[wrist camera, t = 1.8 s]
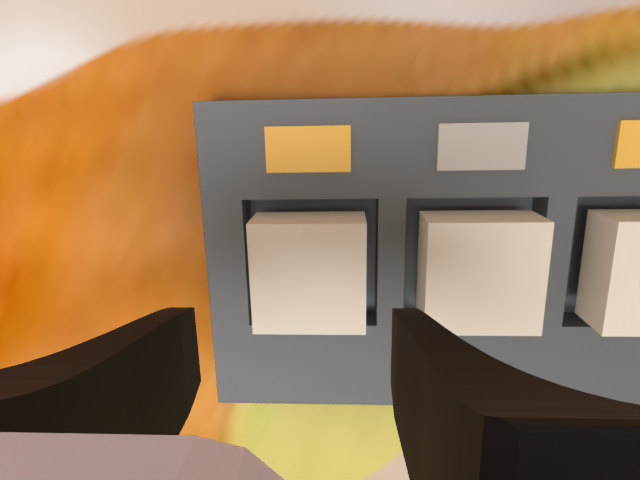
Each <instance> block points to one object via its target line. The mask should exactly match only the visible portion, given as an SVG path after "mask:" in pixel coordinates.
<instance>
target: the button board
mask: <svg viewBox="0 0 640 480" xmlns="http://www.w3.org/2000/svg"><path fill="white" fill-rule="evenodd" d="M193 109H194V121H195V132H196V144H197V156H198V168H199V180H200V191H201V203H202V215H203V227H204V239H205V250H206V262H207V274H208V286H209V298H210V309H211V321H212V333H213V345H214V357H215V368H216V380H217V392H218V403H289V404H361V405H393V401H392V391H391V342H392V308H416V287H417V260H418V232H419V211H455V210H532V211H534V212H536V213H538V214H540V215H542V216H544V217H545V218H547V219H549V220H551V221H553V222H555V223H554V232H553V241H552V250H551V259H550V268H549V276H548V285H547V294H546V303H545V312H544V321H543V329H542V336H458V337H460V338H461V339H463V340H464V341H466V342H467V343H469V344H471V345H472V346H474V347H476V348H477V349H479V350H481V351H483V352H484V353H486V354H488V355H490V356H492V357H494V358H496V359H498V360H500V361H502V362H504V363H506V364H508V365H510V366H513V367H515V368H517V369H519V370H521V371H524V372H526V373H529V374H531V375H534V376H537V377H539V378H542V379H545V380H548V381H551V382H554V383H556V384H559V385H562V386H565V387H569V388H572V389H576V390H579V391H582V392H586V393H590V394H594V395H598V396H602V397H606V398H610V399H614V400H618V401H622V402H628V403H633V404H639V405H640V337H602V336H601V335H600V334H598V333H597V332H596V331H595V330H594V329H593V328H592V327H590V326H589V325H588V324H587V323H586V322H585V321H584V320H582V319H581V318H580V317H579V316H578V315H577V314H576V313H574V312H575V305H576V297H577V289H578V282H579V274H580V267H581V259H582V251H583V244H584V236H585V228H586V221H587V213H588V209H640V92H618V93H569V94H521V95H473V96H425V97H377V98H328V99H280V100H232V101H193ZM328 211H365V217H366V222H367V273H366V335H276V334H253V332H252V315H251V299H250V282H249V266H248V249H247V233H246V224H247V223H248V221H249V220H250V219H251V218H252V217H253V216H254V215H255V214H256V212H328Z"/></svg>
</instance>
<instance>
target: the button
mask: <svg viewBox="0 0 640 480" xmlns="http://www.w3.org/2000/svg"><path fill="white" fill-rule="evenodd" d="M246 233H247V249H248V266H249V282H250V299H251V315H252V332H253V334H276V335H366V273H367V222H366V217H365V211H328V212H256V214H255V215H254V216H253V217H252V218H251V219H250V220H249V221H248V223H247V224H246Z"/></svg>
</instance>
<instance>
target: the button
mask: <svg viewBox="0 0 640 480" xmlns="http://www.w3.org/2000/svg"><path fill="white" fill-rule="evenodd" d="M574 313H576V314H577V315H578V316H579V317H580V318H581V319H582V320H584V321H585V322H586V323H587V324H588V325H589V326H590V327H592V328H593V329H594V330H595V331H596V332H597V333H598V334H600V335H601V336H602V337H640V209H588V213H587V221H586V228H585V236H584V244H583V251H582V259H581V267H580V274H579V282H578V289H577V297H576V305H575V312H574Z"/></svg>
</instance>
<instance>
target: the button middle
mask: <svg viewBox="0 0 640 480" xmlns="http://www.w3.org/2000/svg"><path fill="white" fill-rule="evenodd" d="M554 223H555V222H553V221H551V220H549V219H547V218H545V217H544V216H542V215H540V214H538V213H536V212H534V211H532V210H455V211H419V232H418V260H417V287H416V308H418V309H420V310H421V311H423V312H424V313H426V314H427V315H429V316H430V317H431V318H433V319H434V320H435V321H437V322H438V323H440V324H441V325H442V326H444V327H445V328H446V329H448V330H449V331H451V332H452V333H454V334H455V335H457V336H542V329H543V321H544V312H545V303H546V294H547V285H548V276H549V268H550V259H551V250H552V241H553V232H554Z"/></svg>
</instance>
